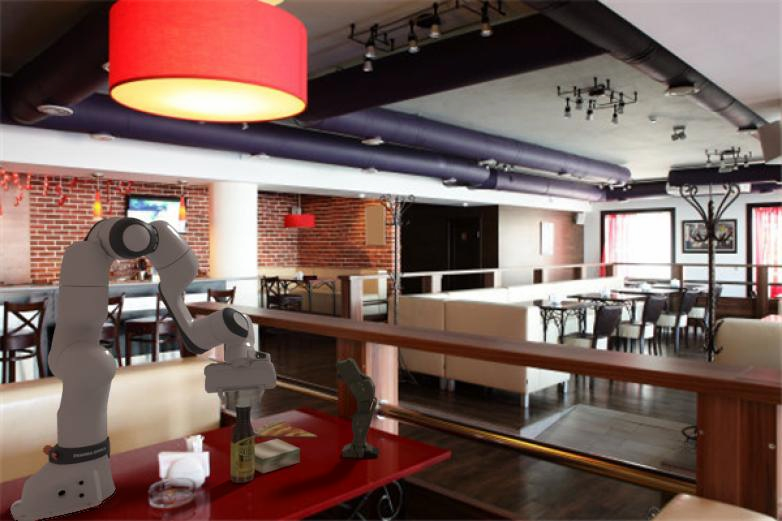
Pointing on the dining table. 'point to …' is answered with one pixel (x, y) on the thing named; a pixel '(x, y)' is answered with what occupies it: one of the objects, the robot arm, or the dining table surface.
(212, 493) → the dining table surface
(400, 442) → the dining table surface
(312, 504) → the dining table surface
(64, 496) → the robot arm
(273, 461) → the grey flat block
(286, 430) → the pizza slice
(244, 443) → the sauce bottle
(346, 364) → the mechanical leg
